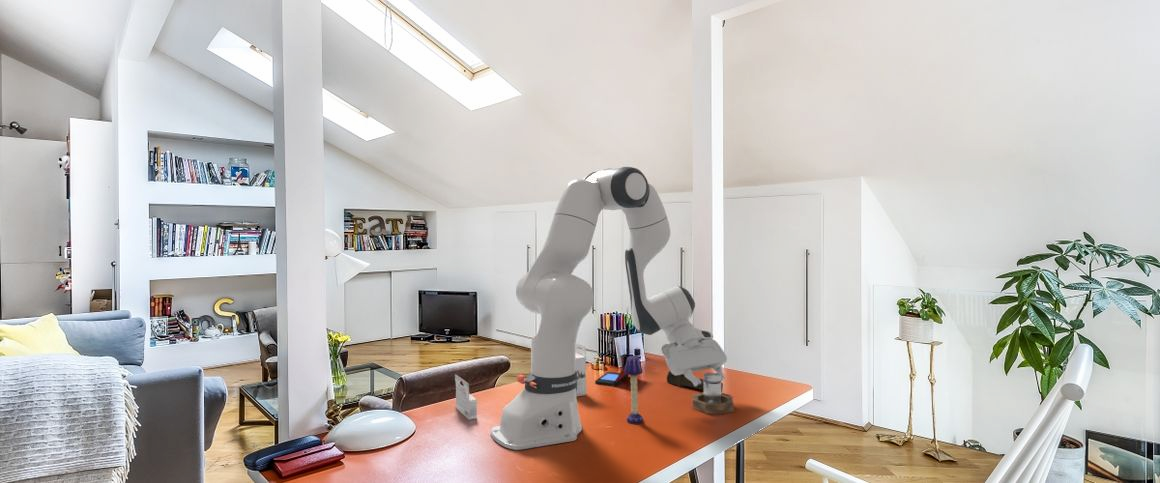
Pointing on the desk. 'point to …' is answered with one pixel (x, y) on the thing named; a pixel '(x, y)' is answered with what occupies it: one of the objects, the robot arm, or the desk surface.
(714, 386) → the cylinder
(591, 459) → the desk surface
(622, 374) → the handheld game console
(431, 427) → the desk surface
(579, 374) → the ink box
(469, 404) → the ink cartridge box
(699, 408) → the walnut ring
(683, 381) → the hand tool
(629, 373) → the toy lamp
